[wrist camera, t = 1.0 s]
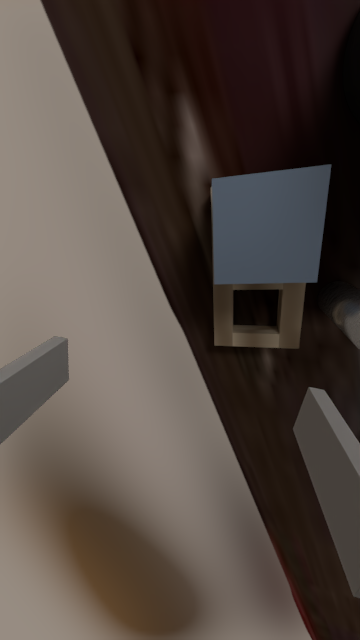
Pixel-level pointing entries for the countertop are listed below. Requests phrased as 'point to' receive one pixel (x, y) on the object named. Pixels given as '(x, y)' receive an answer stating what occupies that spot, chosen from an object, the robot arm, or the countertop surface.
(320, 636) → the countertop surface
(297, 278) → the slate blue cube
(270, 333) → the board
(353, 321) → the peg
